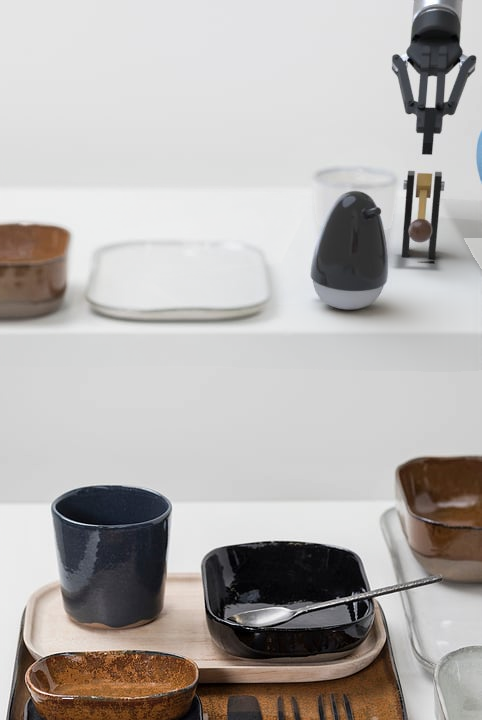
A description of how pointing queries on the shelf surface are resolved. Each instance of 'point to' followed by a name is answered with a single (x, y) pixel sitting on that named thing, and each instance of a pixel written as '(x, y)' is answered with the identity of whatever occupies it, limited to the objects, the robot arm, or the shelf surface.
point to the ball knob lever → (422, 209)
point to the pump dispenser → (351, 253)
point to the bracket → (434, 217)
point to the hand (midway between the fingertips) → (427, 148)
